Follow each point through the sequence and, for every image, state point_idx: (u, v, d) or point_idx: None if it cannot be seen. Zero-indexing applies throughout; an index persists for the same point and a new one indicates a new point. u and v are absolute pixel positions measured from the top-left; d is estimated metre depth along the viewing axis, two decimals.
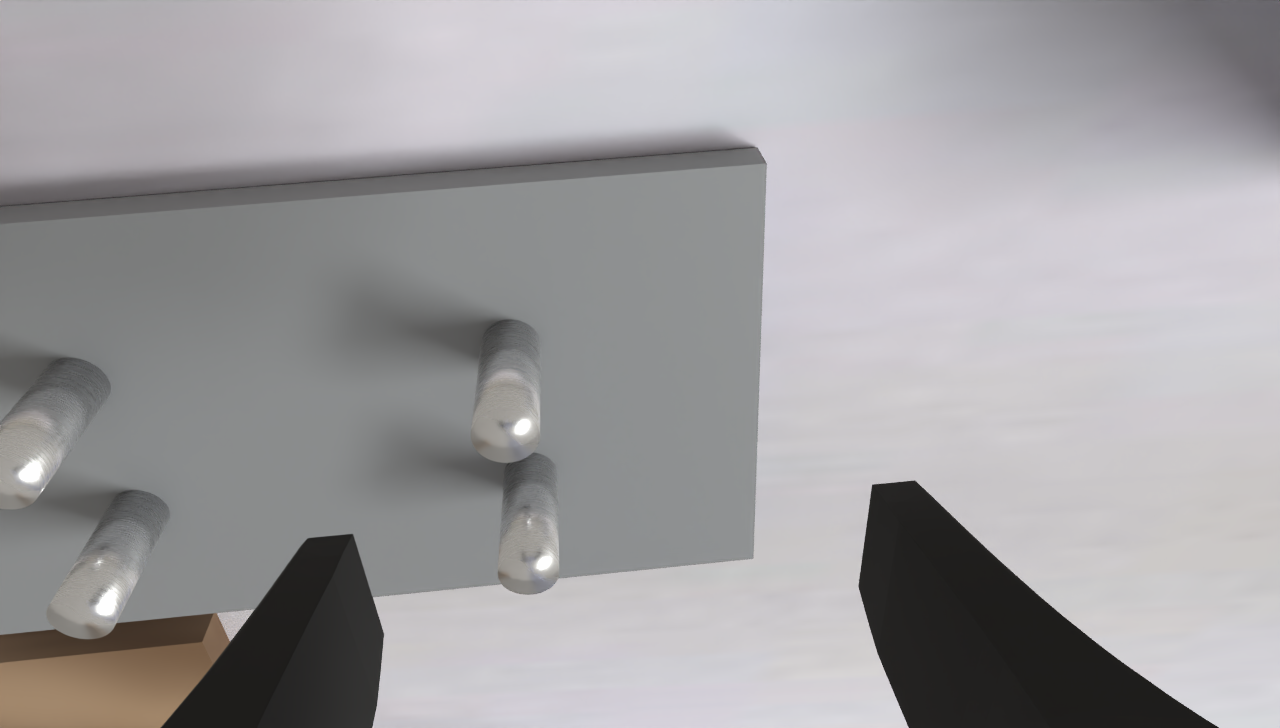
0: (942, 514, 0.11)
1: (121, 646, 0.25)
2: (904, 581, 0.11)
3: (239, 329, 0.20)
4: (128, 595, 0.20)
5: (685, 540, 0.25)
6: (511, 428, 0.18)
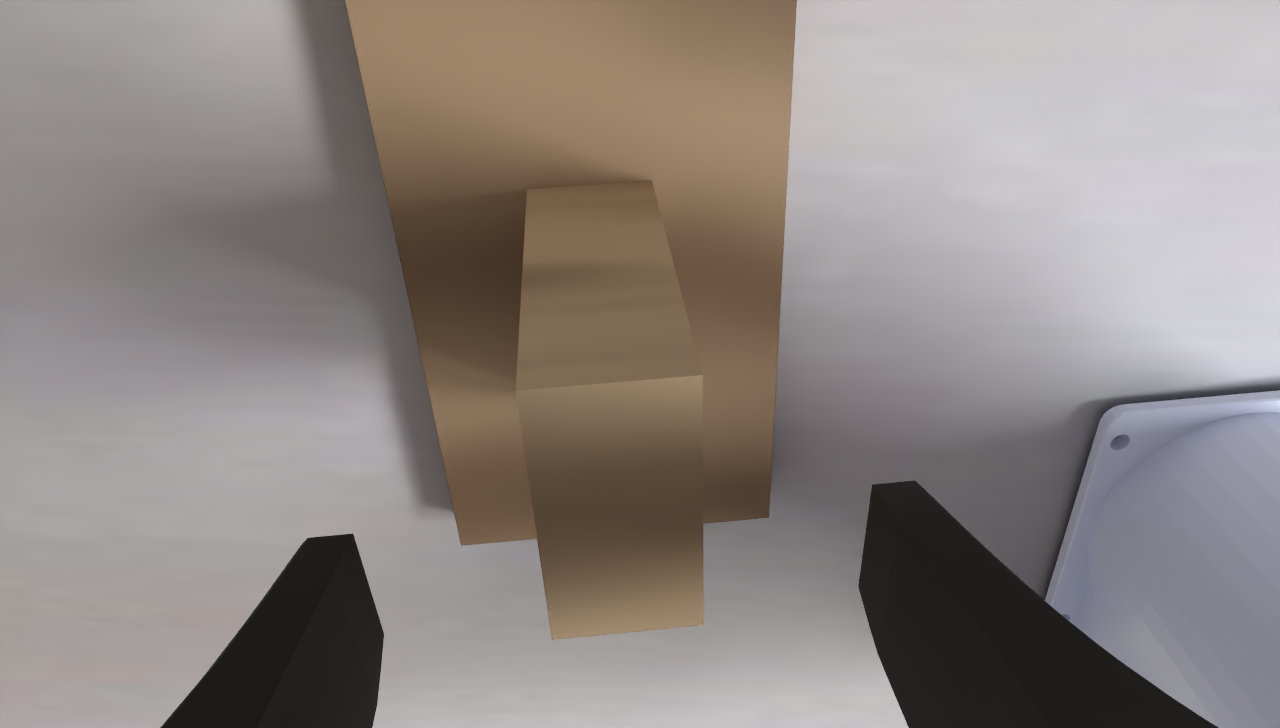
0: (942, 515, 0.11)
1: None
2: (904, 581, 0.11)
3: None
4: None
5: None
6: None
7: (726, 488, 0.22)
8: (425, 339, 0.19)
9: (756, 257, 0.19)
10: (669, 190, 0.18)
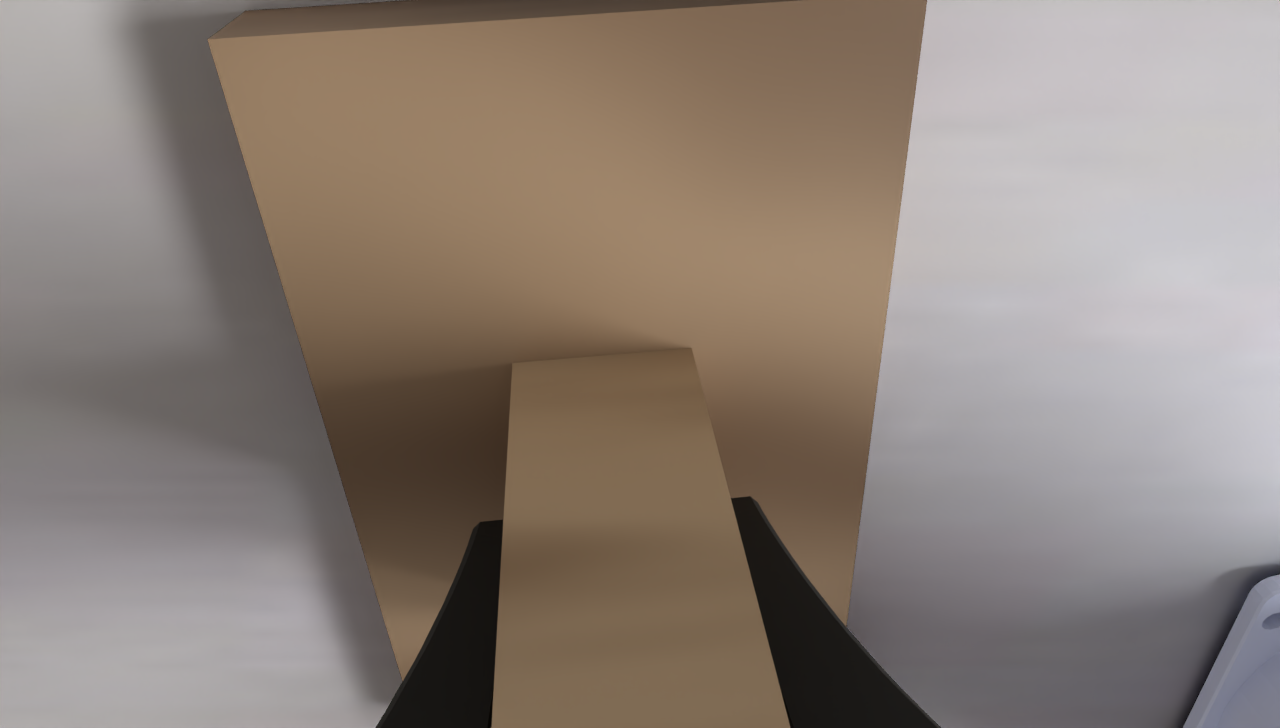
0: (763, 532, 0.11)
1: (722, 3, 0.10)
2: None
3: None
4: None
5: None
6: None
7: None
8: (374, 550, 0.14)
9: (834, 440, 0.13)
10: (716, 360, 0.12)
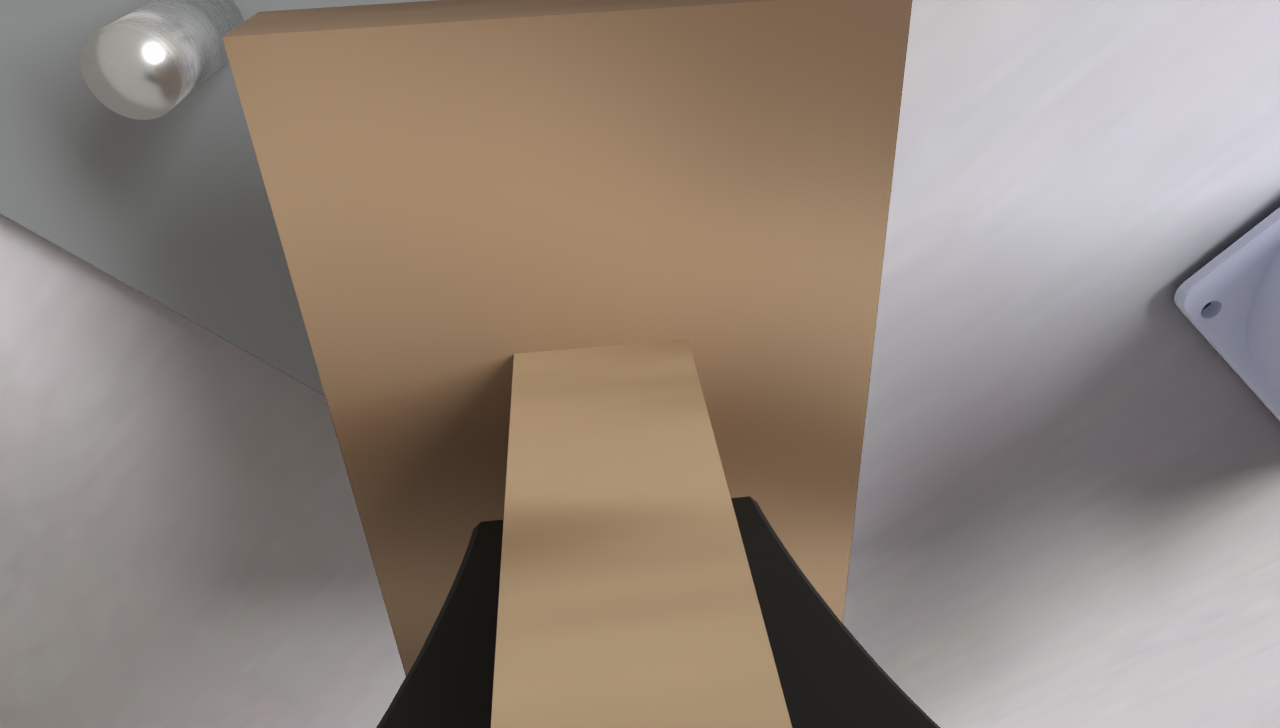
0: (763, 532, 0.11)
1: (716, 1, 0.10)
2: None
3: None
4: None
5: None
6: None
7: None
8: (378, 540, 0.14)
9: (828, 431, 0.14)
10: (712, 351, 0.13)
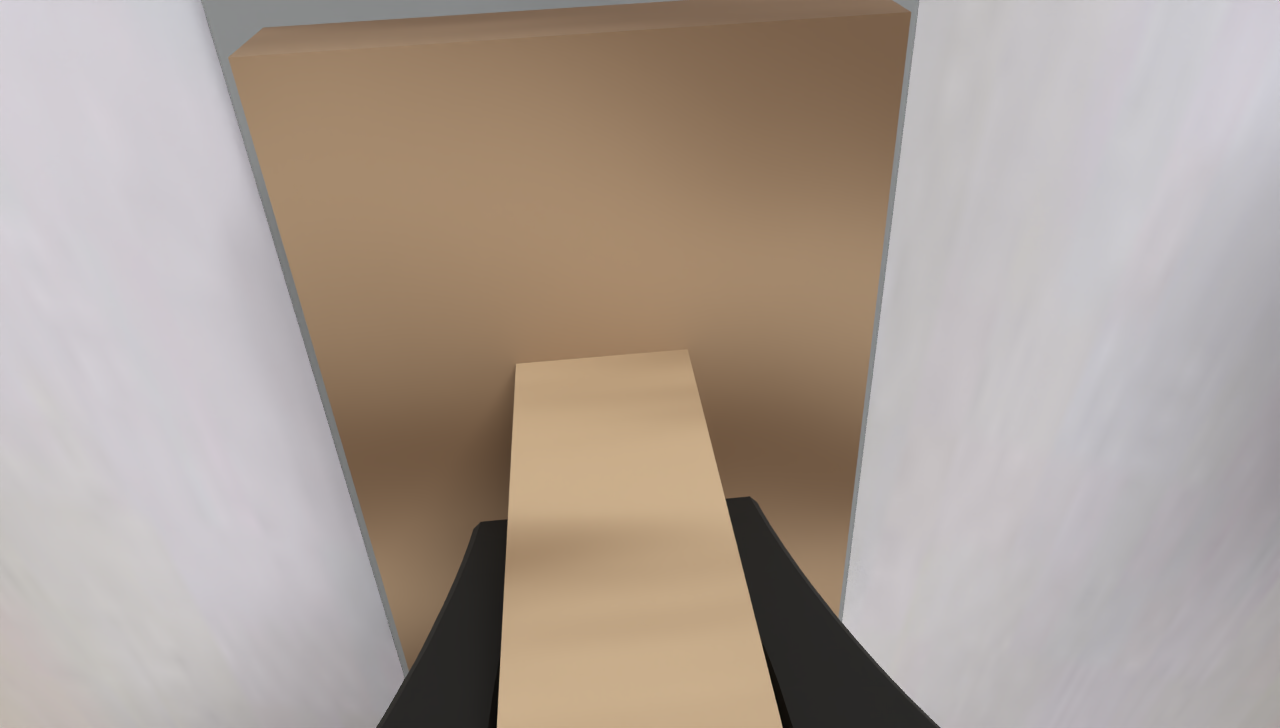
0: (763, 532, 0.11)
1: (716, 22, 0.10)
2: None
3: None
4: None
5: None
6: None
7: None
8: (382, 543, 0.14)
9: (825, 438, 0.14)
10: (711, 361, 0.13)
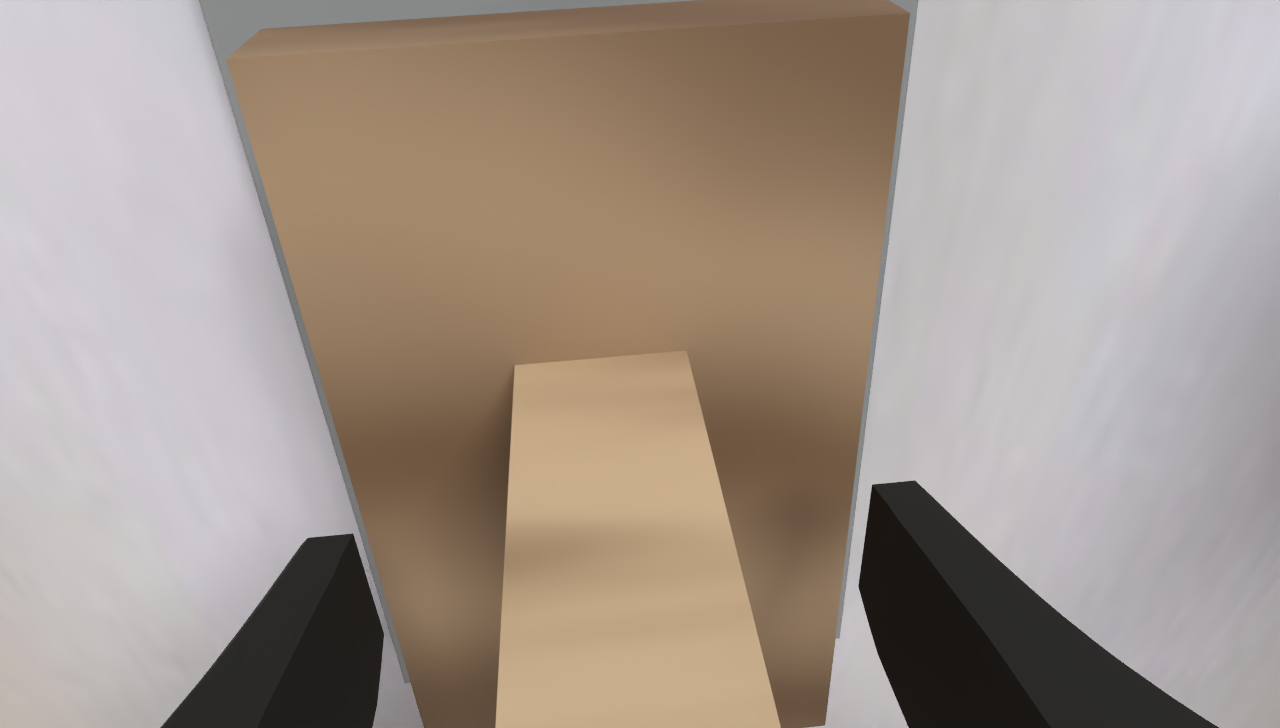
0: (942, 515, 0.11)
1: (714, 23, 0.10)
2: (904, 581, 0.11)
3: None
4: None
5: None
6: None
7: (773, 696, 0.18)
8: (381, 545, 0.14)
9: (824, 439, 0.14)
10: (710, 362, 0.13)
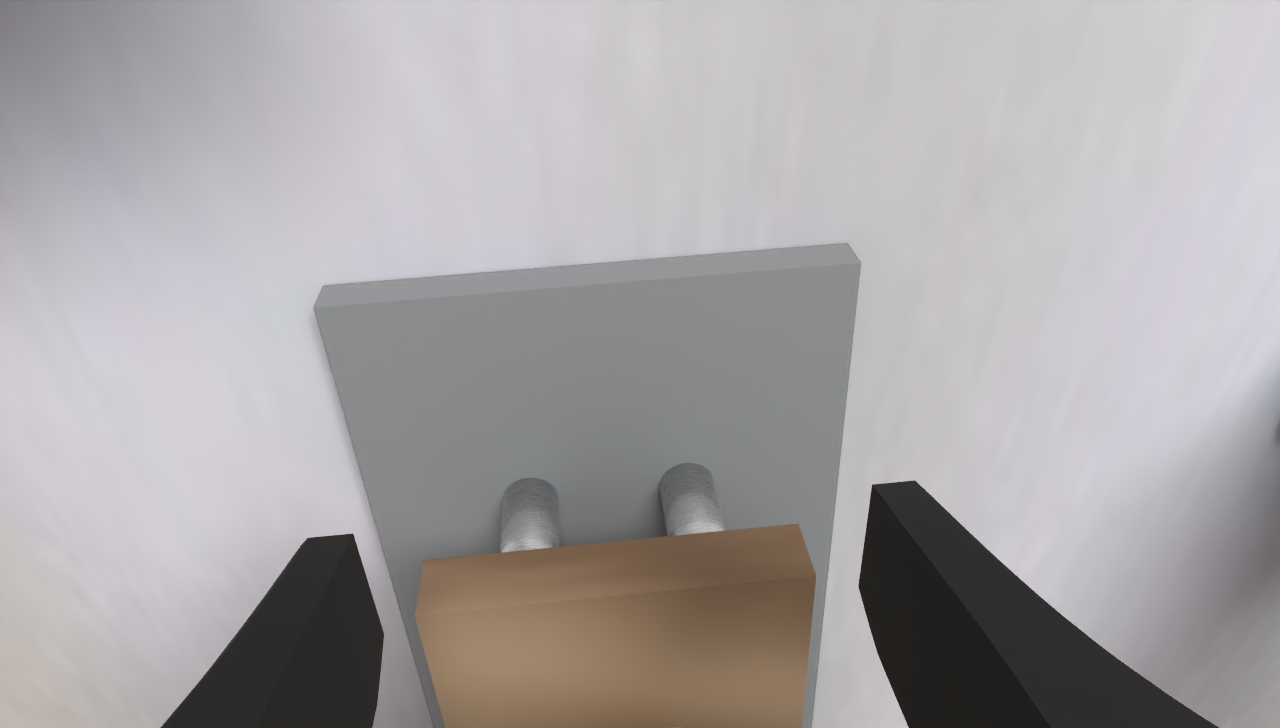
0: (943, 515, 0.11)
1: (700, 581, 0.18)
2: (905, 581, 0.11)
3: None
4: None
5: (810, 341, 0.21)
6: None
7: None
8: None
9: None
10: None
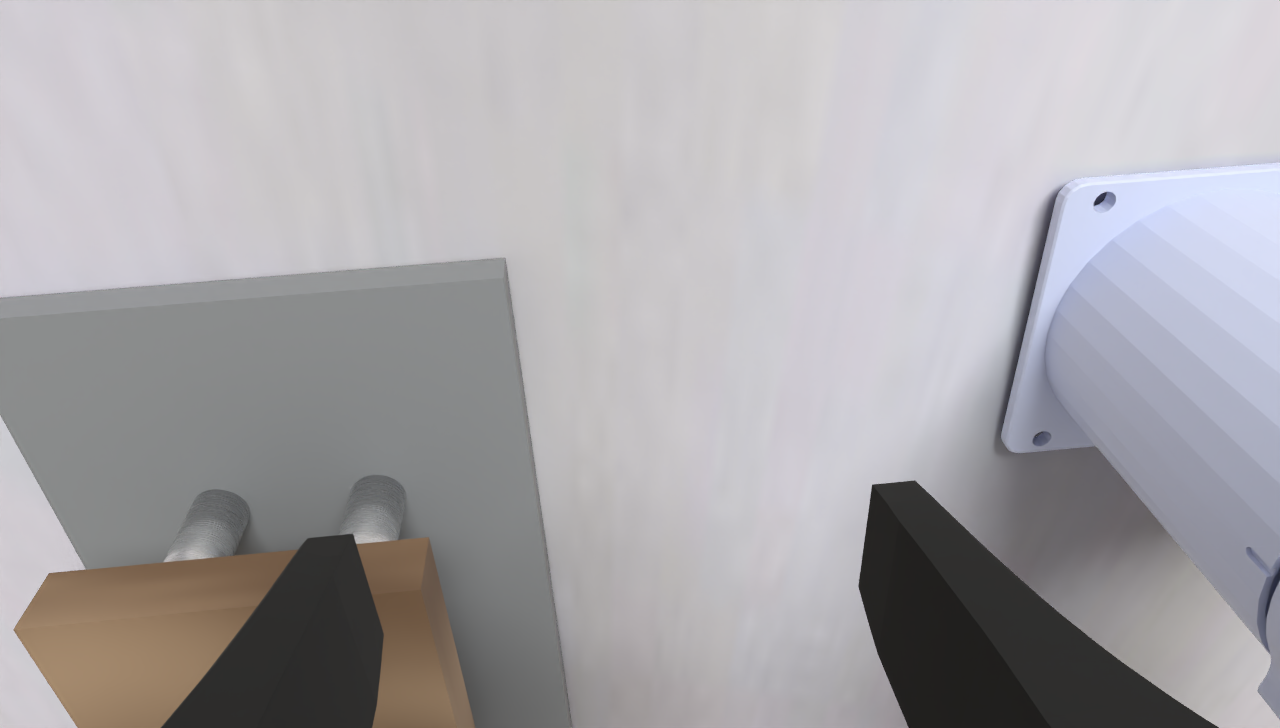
0: (942, 515, 0.11)
1: None
2: (904, 581, 0.11)
3: None
4: None
5: (471, 355, 0.21)
6: None
7: None
8: None
9: None
10: None
